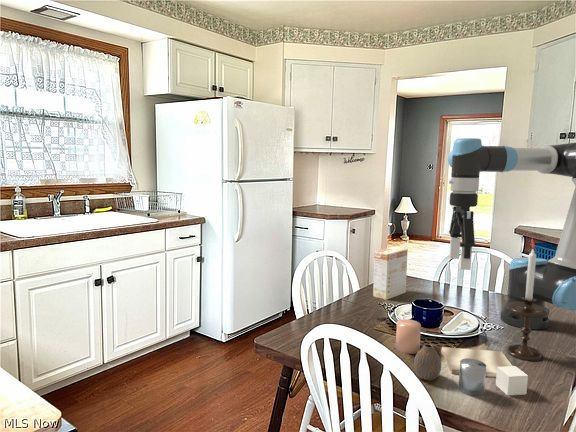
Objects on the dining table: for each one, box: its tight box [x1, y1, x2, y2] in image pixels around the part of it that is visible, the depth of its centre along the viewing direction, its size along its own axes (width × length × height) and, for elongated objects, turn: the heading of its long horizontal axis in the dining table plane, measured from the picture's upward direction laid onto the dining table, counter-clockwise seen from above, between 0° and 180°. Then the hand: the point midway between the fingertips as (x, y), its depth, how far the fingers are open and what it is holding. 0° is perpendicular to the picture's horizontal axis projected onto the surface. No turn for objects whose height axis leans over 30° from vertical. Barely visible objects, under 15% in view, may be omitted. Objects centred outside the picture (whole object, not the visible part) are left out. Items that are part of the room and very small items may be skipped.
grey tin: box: [457, 358, 487, 398], centre depth 108 cm, size 6×6×7 cm
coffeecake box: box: [372, 246, 408, 301], centre depth 184 cm, size 15×7×20 cm, turn 133°
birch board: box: [441, 346, 513, 378], centre depth 123 cm, size 17×14×1 cm
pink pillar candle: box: [395, 318, 422, 355], centre depth 132 cm, size 7×7×8 cm
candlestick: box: [506, 237, 550, 362], centre depth 127 cm, size 11×11×35 cm
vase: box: [413, 343, 442, 381], centre depth 115 cm, size 7×7×9 cm
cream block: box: [495, 365, 529, 396], centre depth 109 cm, size 5×5×5 cm
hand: (459, 263), depth 129 cm, fingers open, 13 cm apart
